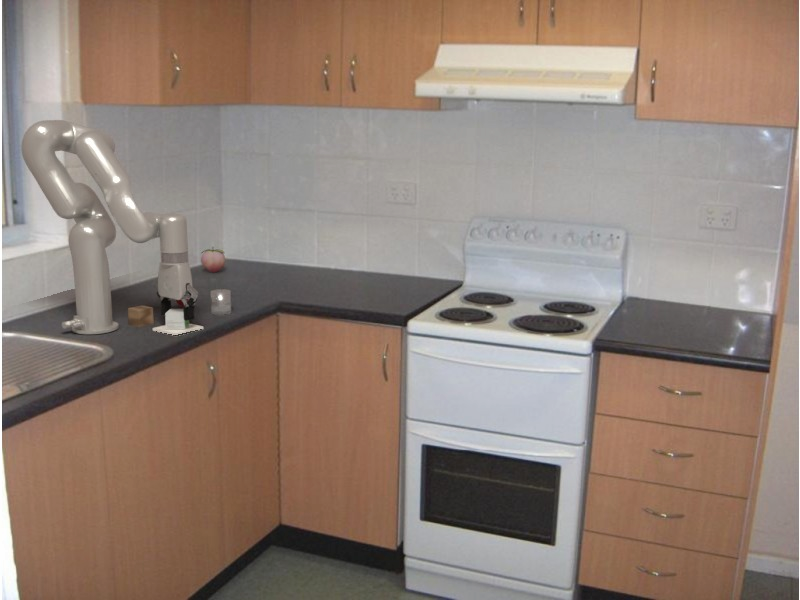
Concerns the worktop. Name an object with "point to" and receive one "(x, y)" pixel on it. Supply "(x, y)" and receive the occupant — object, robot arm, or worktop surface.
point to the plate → (175, 332)
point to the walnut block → (140, 316)
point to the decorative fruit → (213, 259)
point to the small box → (175, 319)
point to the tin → (220, 302)
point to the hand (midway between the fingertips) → (177, 317)
